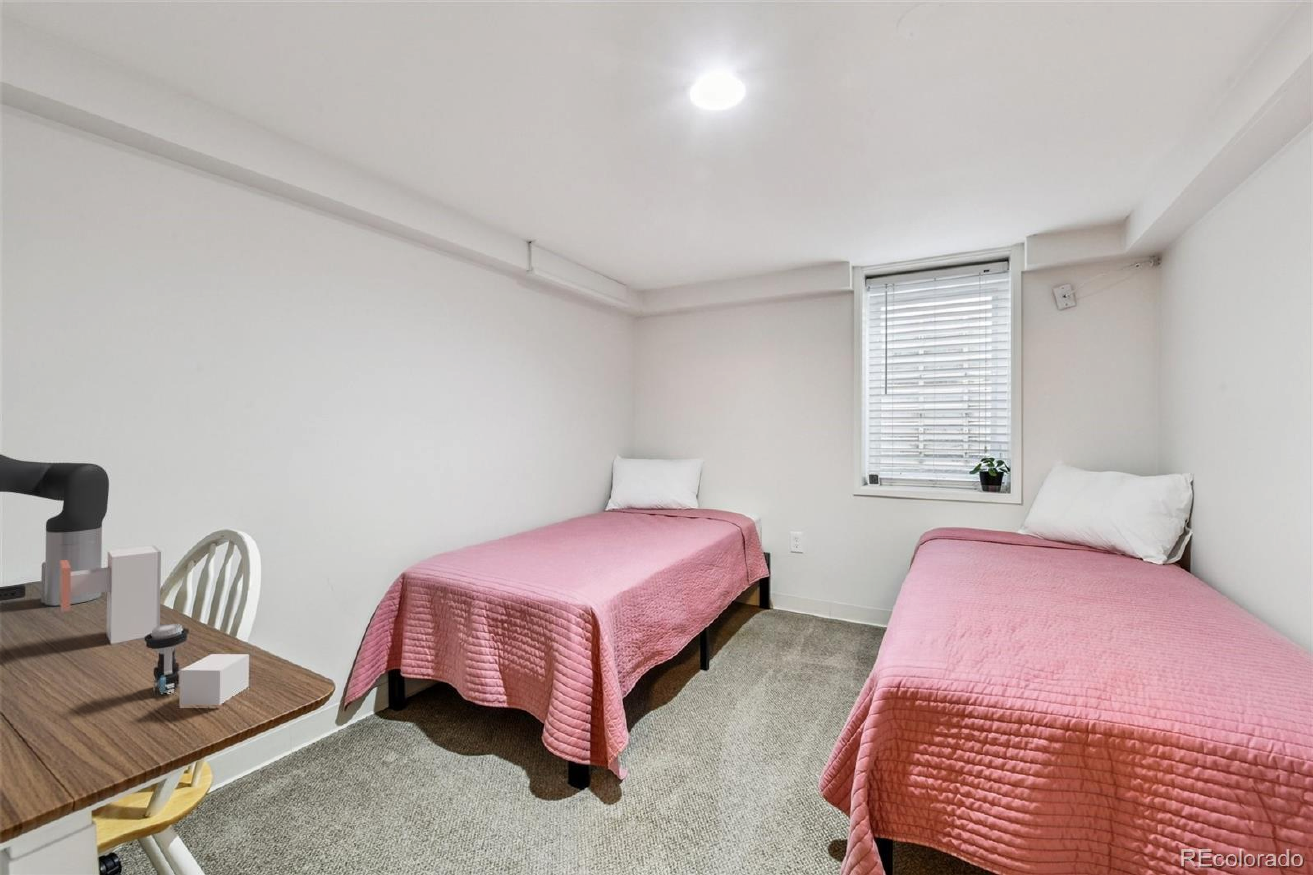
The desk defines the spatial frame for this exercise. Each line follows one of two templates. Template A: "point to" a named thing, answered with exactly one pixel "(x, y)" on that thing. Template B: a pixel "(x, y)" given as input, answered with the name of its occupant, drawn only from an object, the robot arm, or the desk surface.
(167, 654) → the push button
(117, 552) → the socket block
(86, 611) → the desk surface
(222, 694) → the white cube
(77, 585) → the plug
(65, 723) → the desk surface
